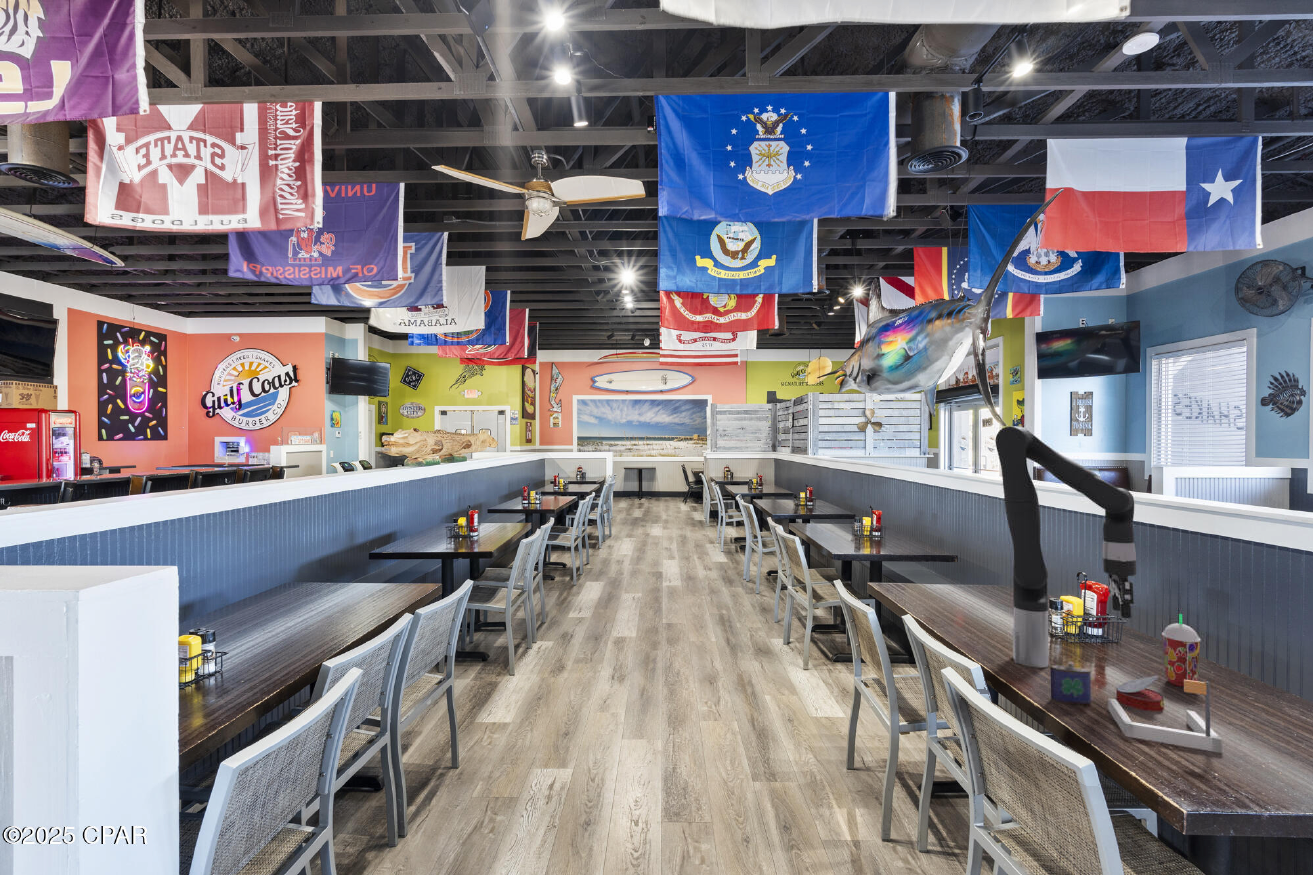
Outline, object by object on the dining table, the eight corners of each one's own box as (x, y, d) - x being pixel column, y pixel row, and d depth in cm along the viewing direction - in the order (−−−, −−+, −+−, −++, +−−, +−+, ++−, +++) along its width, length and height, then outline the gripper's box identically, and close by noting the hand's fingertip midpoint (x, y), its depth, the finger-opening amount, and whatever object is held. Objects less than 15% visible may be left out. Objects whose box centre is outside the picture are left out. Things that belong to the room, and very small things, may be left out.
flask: (1088, 702, 157) (1088, 661, 157) (1093, 706, 154) (1093, 665, 154) (1049, 698, 159) (1048, 658, 159) (1053, 702, 156) (1052, 662, 156)
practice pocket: (1125, 736, 138) (1124, 671, 138) (1108, 709, 152) (1107, 651, 152) (1222, 752, 130) (1220, 685, 131) (1194, 723, 144) (1193, 662, 145)
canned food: (1147, 729, 151) (1135, 698, 150) (1111, 708, 161) (1099, 678, 160) (1182, 707, 152) (1170, 675, 151) (1143, 687, 162) (1132, 658, 161)
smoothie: (1208, 690, 164) (1207, 619, 165) (1174, 688, 166) (1173, 617, 167) (1188, 679, 173) (1187, 611, 173) (1155, 677, 174) (1154, 609, 175)
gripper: (1096, 552, 177) (1098, 606, 177) (1110, 560, 164) (1112, 618, 164) (1127, 554, 174) (1129, 609, 173) (1143, 562, 161) (1146, 621, 161)
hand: (1121, 613), depth 169 cm, fingers open, 8 cm apart
